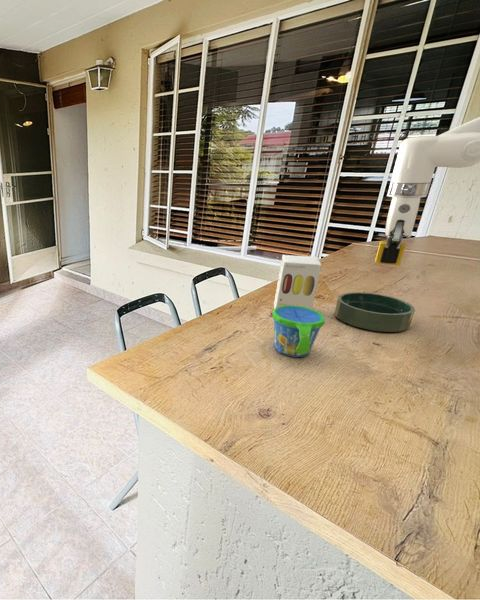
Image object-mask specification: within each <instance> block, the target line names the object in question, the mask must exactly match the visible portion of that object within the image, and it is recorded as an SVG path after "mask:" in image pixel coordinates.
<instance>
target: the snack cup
mask: <svg viewBox="0 0 480 600" xmlns="http://www.w3.org/2000/svg"><path fill="white" fill-rule="evenodd" d="M272 318H273V346H274V348H275V350H277V352H278V353H279V354H283V355H284V356H287V357H290V358H302V357H306V356H308V355H309V354H310V353H311V350H312V349H313V346H314V343H315V342H316V339H317V336H318V335H319V332H320V329H321V328H322V327H323V326H324V325H325V322H326V321H325V320H326V319H325V316H324V314H322V312H320V311H318V310H315V309H313V308H312V309H310V308H306V307H301V306H280V307H277V308H275V309H274V308H273V310H272Z"/></svg>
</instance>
